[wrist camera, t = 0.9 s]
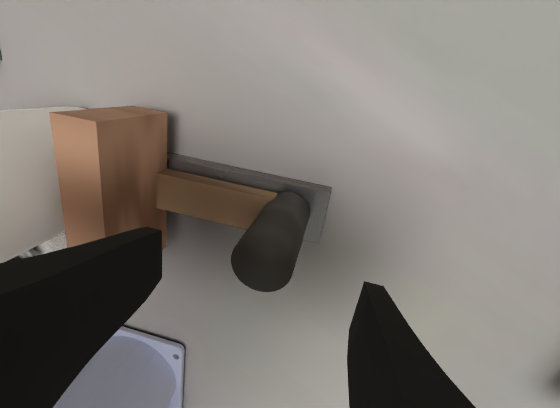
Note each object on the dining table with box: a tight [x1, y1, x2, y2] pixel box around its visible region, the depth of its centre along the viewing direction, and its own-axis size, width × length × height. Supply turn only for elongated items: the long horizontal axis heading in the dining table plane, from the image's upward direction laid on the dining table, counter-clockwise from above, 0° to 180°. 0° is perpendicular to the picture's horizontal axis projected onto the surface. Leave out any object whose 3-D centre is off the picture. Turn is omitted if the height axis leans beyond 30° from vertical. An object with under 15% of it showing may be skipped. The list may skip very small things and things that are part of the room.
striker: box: [49, 106, 310, 292], centre depth 14 cm, size 8×10×5 cm
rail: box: [167, 153, 332, 243], centre depth 17 cm, size 3×11×1 cm, turn 81°
